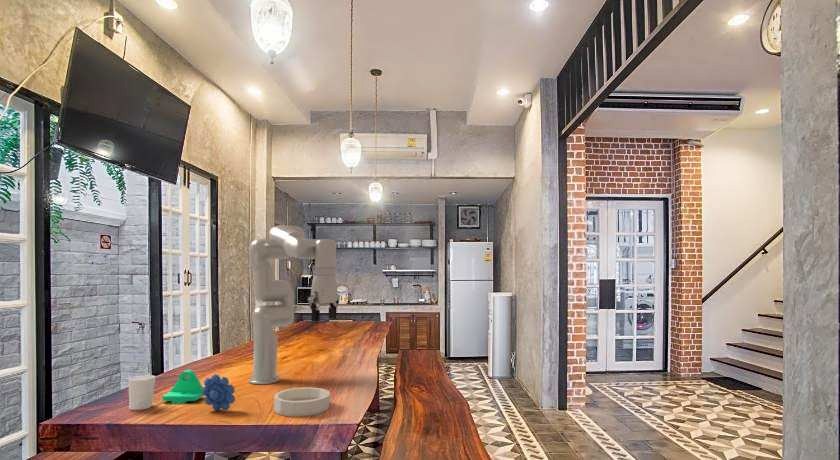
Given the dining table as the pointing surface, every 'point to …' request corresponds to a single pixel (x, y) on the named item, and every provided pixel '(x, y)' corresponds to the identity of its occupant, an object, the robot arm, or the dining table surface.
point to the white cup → (141, 392)
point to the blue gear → (218, 392)
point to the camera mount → (185, 389)
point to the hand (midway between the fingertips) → (324, 319)
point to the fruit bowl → (301, 402)
